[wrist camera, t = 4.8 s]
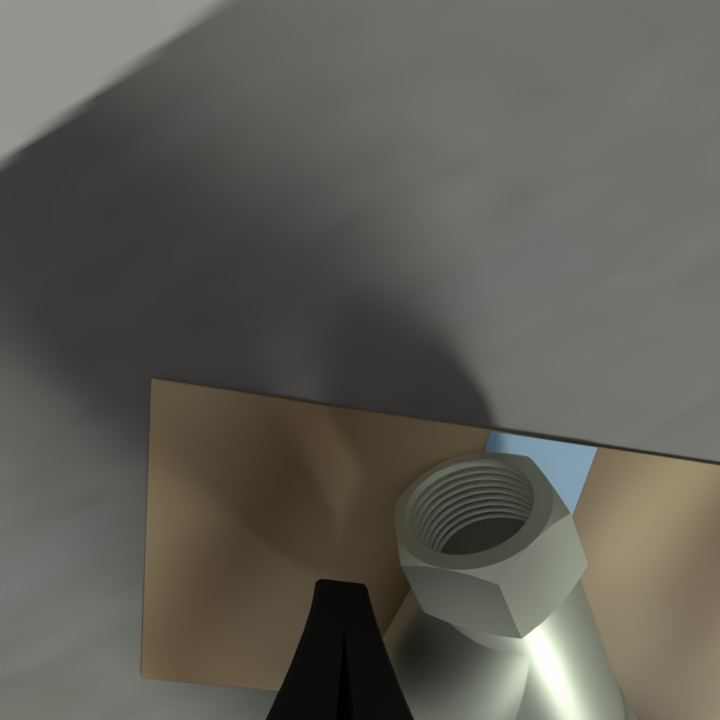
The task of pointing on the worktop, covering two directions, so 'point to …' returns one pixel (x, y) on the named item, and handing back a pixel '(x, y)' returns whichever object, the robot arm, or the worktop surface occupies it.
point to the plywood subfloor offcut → (379, 541)
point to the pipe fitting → (496, 600)
